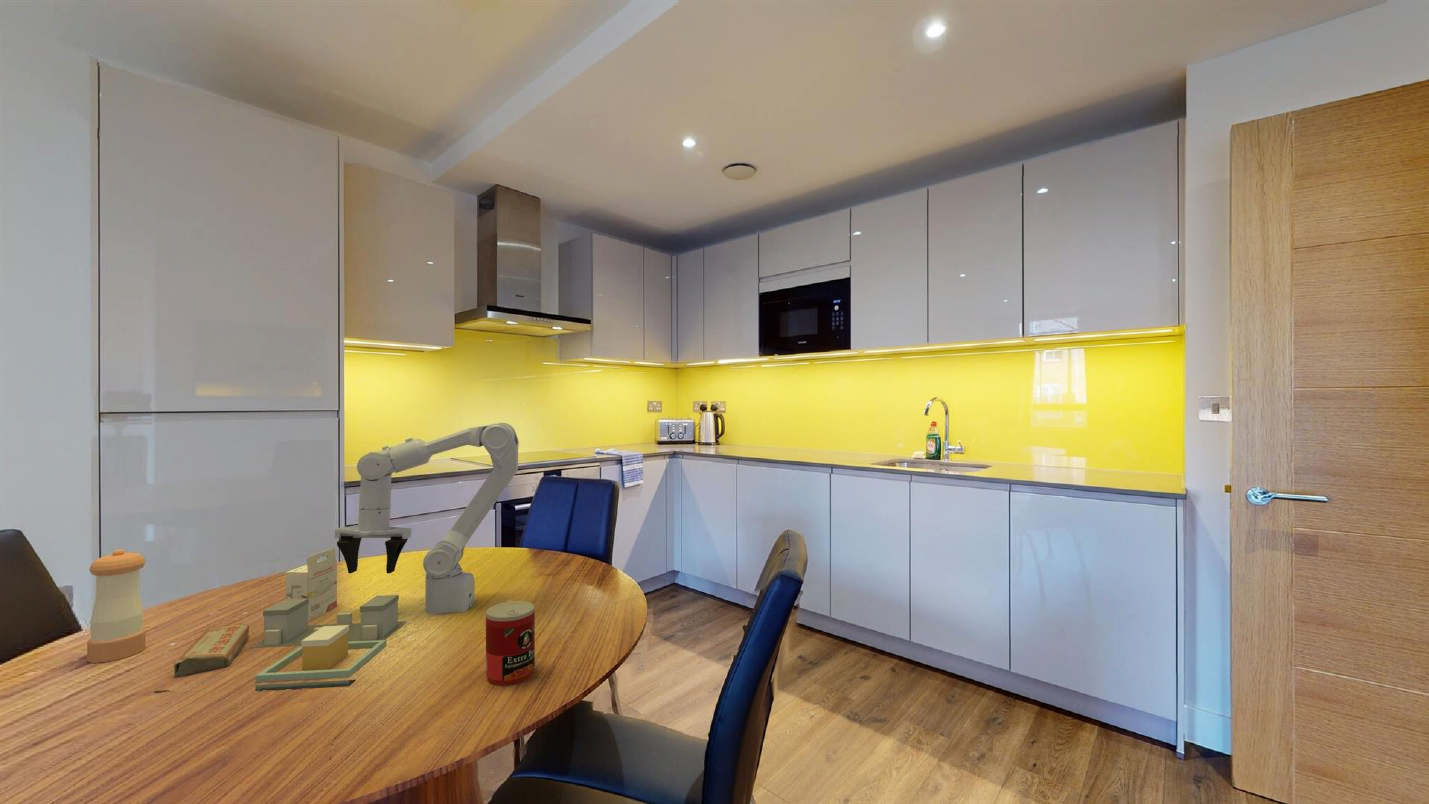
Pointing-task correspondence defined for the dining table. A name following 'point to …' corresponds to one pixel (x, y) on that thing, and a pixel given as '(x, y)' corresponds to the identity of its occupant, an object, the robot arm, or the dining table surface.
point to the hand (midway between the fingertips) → (371, 572)
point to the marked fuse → (324, 648)
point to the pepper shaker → (116, 608)
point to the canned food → (510, 642)
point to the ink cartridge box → (315, 583)
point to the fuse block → (354, 634)
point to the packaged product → (212, 650)
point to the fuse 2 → (380, 613)
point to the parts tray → (273, 675)
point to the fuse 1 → (287, 618)
